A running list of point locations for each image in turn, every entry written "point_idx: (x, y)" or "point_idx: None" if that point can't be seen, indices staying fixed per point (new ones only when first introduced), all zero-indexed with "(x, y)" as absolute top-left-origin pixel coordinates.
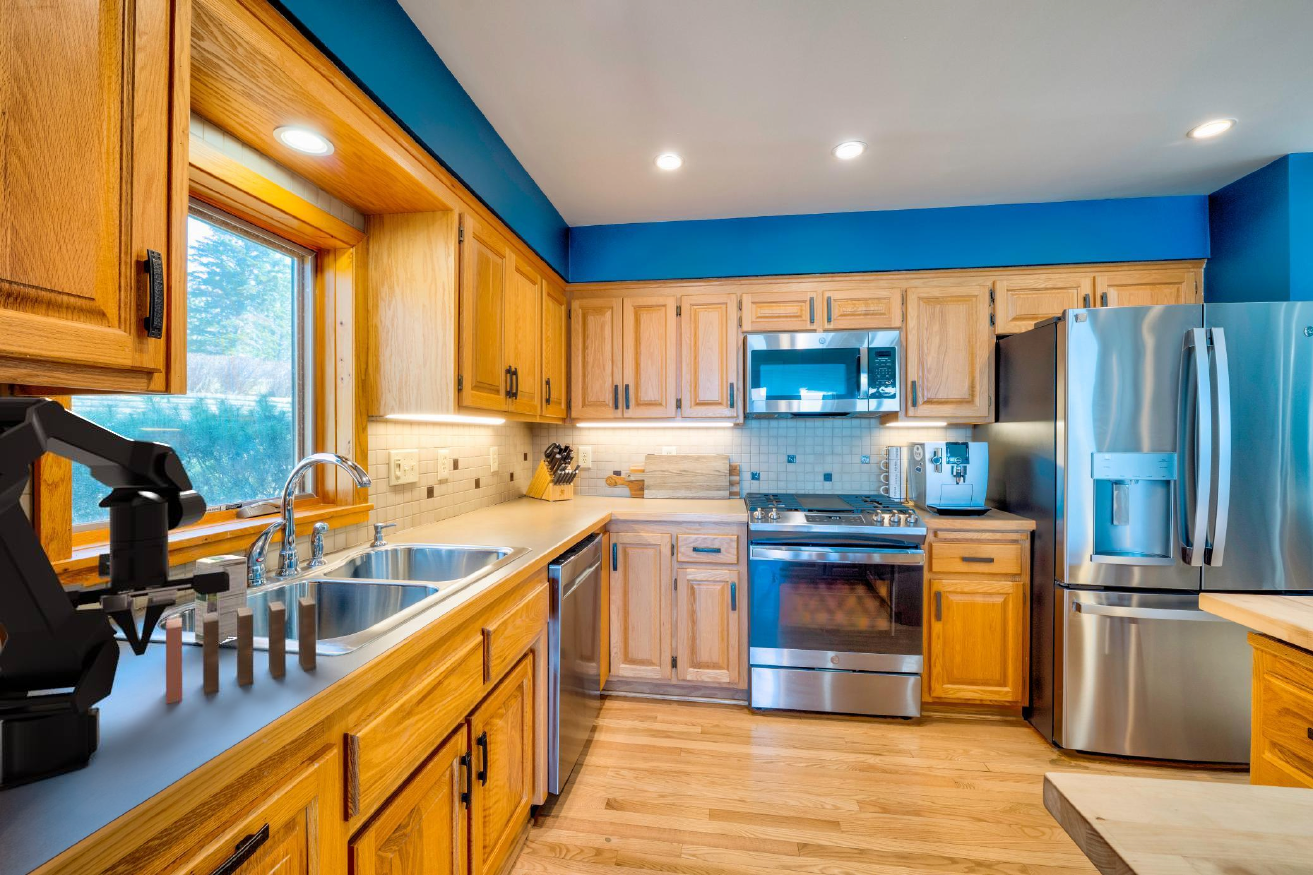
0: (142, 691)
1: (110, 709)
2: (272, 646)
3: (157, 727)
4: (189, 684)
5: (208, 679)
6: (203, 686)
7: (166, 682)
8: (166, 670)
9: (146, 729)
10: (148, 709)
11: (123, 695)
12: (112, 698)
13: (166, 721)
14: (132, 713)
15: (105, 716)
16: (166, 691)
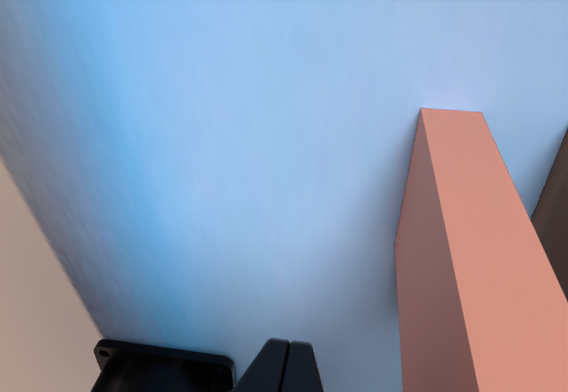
0: (331, 16)
1: (231, 154)
2: None
3: (354, 370)
4: (521, 86)
5: None
6: (547, 187)
7: (399, 309)
8: (402, 357)
9: (331, 363)
10: (342, 247)
11: (256, 9)
12: (217, 16)
13: (376, 355)
14: (299, 244)
15: (226, 208)
16: (397, 279)
